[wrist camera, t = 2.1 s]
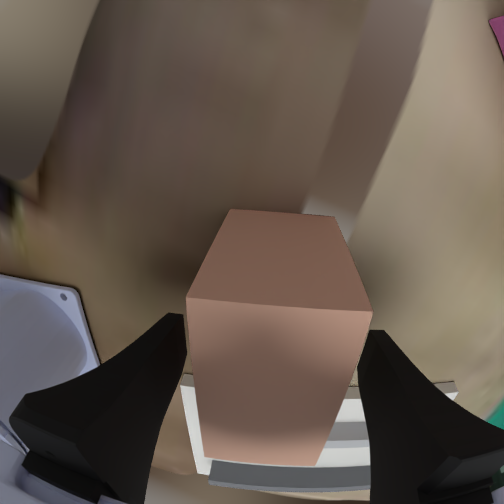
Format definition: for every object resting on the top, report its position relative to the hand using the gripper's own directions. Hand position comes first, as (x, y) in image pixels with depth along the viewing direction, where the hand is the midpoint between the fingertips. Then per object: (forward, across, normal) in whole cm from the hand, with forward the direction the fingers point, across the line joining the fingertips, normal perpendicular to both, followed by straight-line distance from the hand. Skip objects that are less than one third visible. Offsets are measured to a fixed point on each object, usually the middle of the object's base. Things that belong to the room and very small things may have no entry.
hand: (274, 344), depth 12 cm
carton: (+4, 0, 0) cm, 4 cm away
